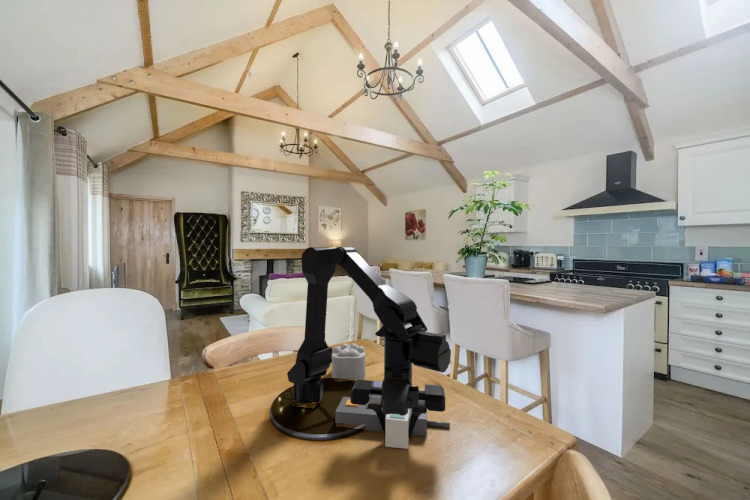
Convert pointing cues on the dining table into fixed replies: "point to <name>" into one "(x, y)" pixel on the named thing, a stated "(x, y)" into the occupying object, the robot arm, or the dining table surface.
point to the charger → (397, 430)
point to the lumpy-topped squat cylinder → (348, 362)
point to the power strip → (369, 417)
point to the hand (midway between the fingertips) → (397, 435)
